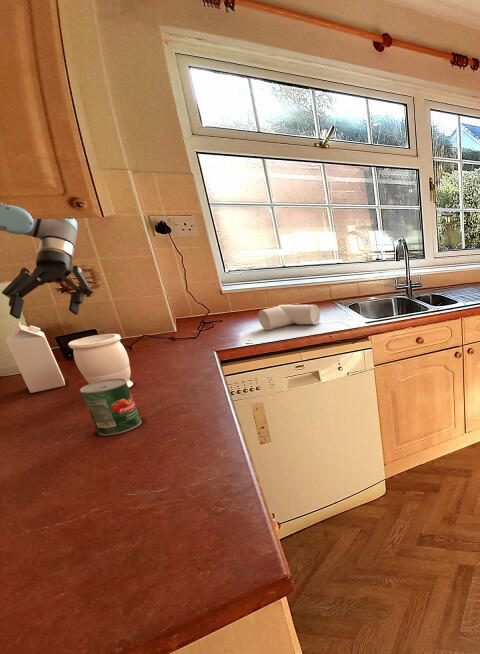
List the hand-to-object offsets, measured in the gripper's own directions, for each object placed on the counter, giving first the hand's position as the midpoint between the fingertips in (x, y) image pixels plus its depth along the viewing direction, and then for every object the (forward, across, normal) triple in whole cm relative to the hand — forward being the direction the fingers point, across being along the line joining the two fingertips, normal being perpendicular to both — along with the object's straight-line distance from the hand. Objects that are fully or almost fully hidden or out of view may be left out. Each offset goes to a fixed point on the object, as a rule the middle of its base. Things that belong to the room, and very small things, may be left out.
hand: (44, 314), depth 125 cm
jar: (+27, -19, 0) cm, 34 cm away
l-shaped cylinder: (-11, -60, -38) cm, 72 cm away
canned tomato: (+47, -32, +20) cm, 60 cm away
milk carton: (+21, 0, -6) cm, 22 cm away
